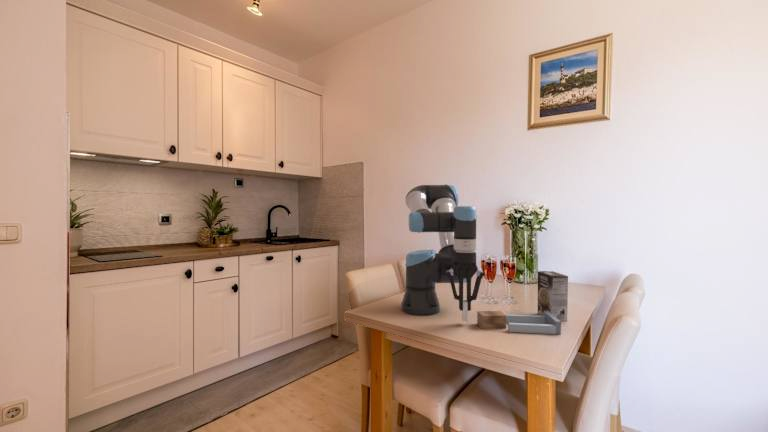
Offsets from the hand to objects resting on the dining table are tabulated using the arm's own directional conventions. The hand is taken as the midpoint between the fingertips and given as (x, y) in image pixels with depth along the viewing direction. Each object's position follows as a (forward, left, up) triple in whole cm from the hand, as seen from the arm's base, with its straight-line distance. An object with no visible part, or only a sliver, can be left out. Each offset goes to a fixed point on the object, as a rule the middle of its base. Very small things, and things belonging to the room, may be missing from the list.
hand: (464, 319), depth 111 cm
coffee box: (+32, +12, -2) cm, 35 cm away
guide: (+20, 0, -2) cm, 20 cm away
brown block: (+9, 0, -2) cm, 9 cm away
